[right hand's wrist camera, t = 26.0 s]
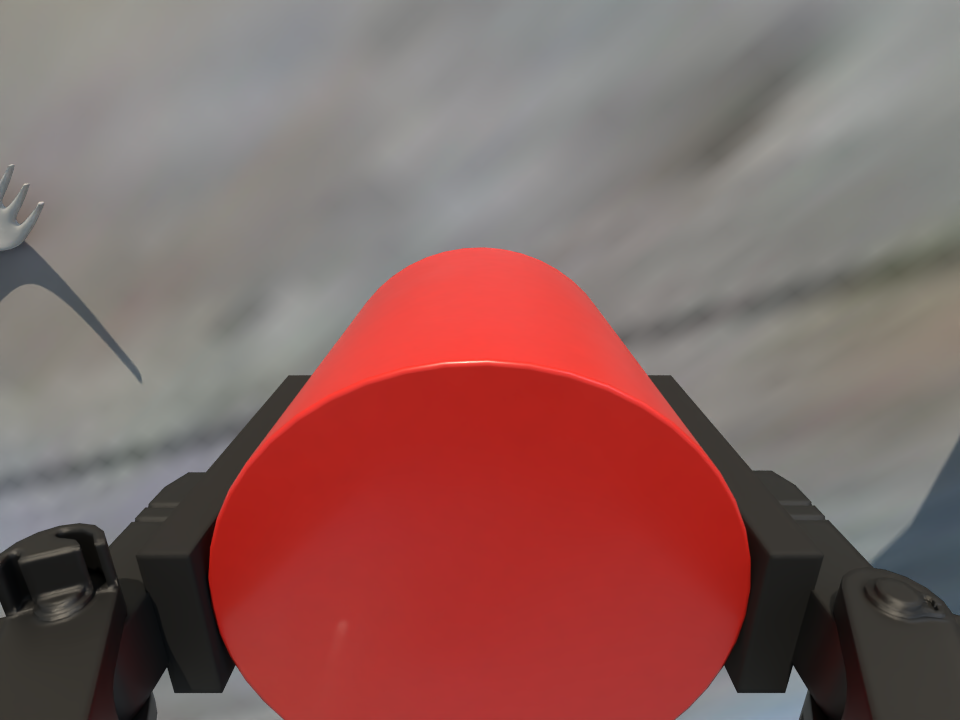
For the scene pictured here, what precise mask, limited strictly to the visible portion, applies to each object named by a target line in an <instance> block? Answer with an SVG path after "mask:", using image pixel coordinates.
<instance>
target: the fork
mask: <svg viewBox="0 0 960 720" xmlns="http://www.w3.org/2000/svg"><path fill="white" fill-rule="evenodd" d="M13 170H14V164H11V165H9V166H8V168H7V170H6V172H5V174H4V175H3V177H2V178H1V180H0V251H5V250H10V249H13V248H15V247H17V246H19V245H20V244H21V243H22V242H23V241H24V240H25V239H26V237H27V236H28V234H29V233H30V231H31V230H32V228H33V226H34V225H35V223H36V221H37V219H38V217H39V215H40V213H41V210H42V208H43V206H44V202H39V203H38V205H37V207H36V208H35V210H34V211H33V212H32V213H31V214H30V216H29V217H28V218H27V219H26V220H25V221H24V222H23V223H22V224H19V223H18V222H17V220H16V216H17V214H18V211H19V209H20V208H21V205H22V203H23V201H24V199H25V196H26V194H27V191H28V188H29V184H24V185H23V187H22V189H21V191H20V192H19V193H18V195H17V196H16V197H15V199H14V200H13V201H12V203H11V204H10V205H9V206H8V207H5V206H4V205H3V203H2V199H3V196H4V194H5V192H6V189H7V187H8V184H9V182H10V179H11V176H12V173H13Z"/></svg>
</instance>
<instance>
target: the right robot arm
mask: <svg viewBox="0 0 960 720" xmlns="http://www.w3.org/2000/svg"><path fill="white" fill-rule="evenodd" d="M311 376H312V375H299V376H288V377H287V378H286V379H285V380H284V382H283V383H282V384H281V385H280V386H279V387H278V389H277V390H276V391H275V392H274V393H273V394H272V396H271V397H270V398H269V399H268V400H267V401H266V403H265V404H264V405H263V406H262V407H261V409H260V410H259V411H258V412H257V413H256V414H255V416H254V417H253V418H252V419H251V420H250V421H249V423H248V424H247V425H246V426H245V427H244V428H243V430H242V431H241V432H240V433H239V434H238V435H237V437H236V438H235V439H234V440H233V441H232V442H231V444H230V445H229V446H228V447H227V448H226V449H225V451H224V452H223V453H222V454H221V455H220V457H219V458H218V459H217V460H216V461H215V462H214V464H213V465H212V466H211V467H210V468H209V469H208V471H207V472H188V473H187V474H185V475H184V476H182V477H180V478H179V479H177V480H175V481H174V482H172V483H171V484H169V485H167V486H166V487H164V488H163V489H162V490H161V492H160V493H159V494H158V495H157V496H156V497H155V498H154V499H153V500H152V501H151V502H150V503H149V506H148V508H145V509H144V510H143V511H142V512H141V513H140V514H139V515H138V516H137V517H136V518H135V522H131V523H130V525H129V526H128V527H127V528H126V529H125V530H124V531H123V532H122V533H121V534H120V535H119V536H118V537H117V538H116V539H115V540H114V542H113V543H112V544H111V545H110V546H109V547H108V544H107V540H106V537H105V534H104V531H103V530H101V529H100V528H98V527H97V526H95V525H90V524H81V523H78V524H70V525H62V526H57V527H54V528H51V529H48V530H44V531H41V532H38V533H36V534H33V535H31V536H29V537H27V538H25V539H23V540H21V541H19V542H16V543H15V544H14V545H12V546H11V547H9V548H8V549H6V550H5V551H3V552H2V553H1V554H0V602H1V605H2V607H3V610H4V612H5V614H6V617H3V618H0V720H156V719H157V708H156V702H155V698H154V695H153V692H152V691H153V689H154V688H155V686H156V684H157V683H158V681H159V679H160V678H161V676H162V674H163V673H164V671H165V669H166V668H168V672H169V675H170V679H171V682H172V686H173V689H174V693H222V692H223V690H224V688H225V686H226V684H227V682H228V680H229V677H230V675H231V673H232V671H233V669H234V667H235V663H234V661H233V660H232V658H231V657H230V655H229V652H228V650H227V648H226V646H225V644H224V642H223V639H222V637H221V635H220V633H219V630H218V626H217V623H216V619H215V616H214V612H213V609H212V605H211V596H210V587H209V560H210V546H211V541H212V537H213V533H214V528H215V524H216V520H217V517H218V514H219V512H220V510H221V507H222V505H223V502H224V500H225V498H226V495H227V493H228V491H229V489H230V487H231V486H232V484H233V483H234V481H235V479H236V478H237V476H238V475H239V473H240V471H241V470H242V468H243V467H244V465H245V464H246V462H247V461H248V459H249V458H250V457H251V455H252V454H253V453H254V451H255V450H256V449H257V447H258V446H259V445H260V444H261V442H262V441H263V440H264V438H265V437H266V436H267V434H268V433H269V432H270V430H271V429H272V428H273V426H274V425H275V424H276V422H277V421H278V420H279V418H280V417H281V416H282V414H283V413H284V412H285V410H286V409H287V408H288V406H289V405H290V404H291V402H292V401H293V400H294V398H295V397H296V396H297V394H298V393H299V392H300V390H301V389H302V388H303V386H304V385H305V384H306V382H307V381H308V380H309V378H310V377H311ZM648 377H649V378H650V379H651V381H652V382H653V383H654V385H655V386H656V387H657V389H658V390H659V391H660V393H661V394H662V395H663V397H664V398H665V399H666V401H667V402H668V403H669V405H670V406H671V407H672V409H673V410H674V411H675V413H676V414H677V415H678V417H679V418H680V419H681V421H682V422H683V423H684V425H685V426H686V427H687V429H688V430H689V431H690V433H691V434H692V435H693V437H694V438H695V439H696V441H697V442H698V443H699V445H700V446H701V447H702V449H703V450H704V451H705V453H706V454H707V455H708V457H709V458H710V459H711V461H712V462H713V463H714V465H715V466H716V467H717V469H718V470H719V471H720V473H721V474H722V476H723V478H724V480H725V482H726V483H727V485H728V487H729V489H730V491H731V492H732V494H733V496H734V498H735V500H736V502H737V505H738V508H739V511H740V514H741V517H742V519H743V522H744V525H745V528H746V533H747V539H748V546H749V552H750V558H751V576H750V594H749V599H748V605H747V611H746V616H745V619H744V622H743V624H742V627H741V630H740V633H739V636H738V639H737V642H736V644H735V645H734V647H733V649H732V651H731V653H730V655H729V657H728V659H727V661H726V662H725V664H724V666H725V668H726V670H727V672H728V674H729V676H730V678H731V680H732V682H733V685H734V687H735V689H736V691H737V693H785V691H786V688H787V684H788V681H789V677H790V674H791V670H792V667H793V666H794V667H795V669H796V670H797V672H798V674H799V675H800V677H801V679H802V680H803V682H804V684H805V685H806V687H807V688H808V692H807V695H806V698H805V701H804V705H803V708H802V711H801V715H800V718H799V720H960V616H959V615H955V614H952V612H951V611H950V610H949V608H948V607H947V606H946V604H945V603H944V601H942V600H941V599H940V598H939V597H937V596H936V595H935V594H934V593H932V592H931V591H930V590H929V589H927V588H926V587H924V586H922V585H920V584H918V583H916V582H915V581H913V580H911V579H909V578H907V577H905V576H902V575H899V574H896V573H893V572H890V571H887V570H883V569H876V568H873V567H872V566H871V565H870V564H869V563H868V562H867V560H866V559H865V558H864V557H863V556H862V555H861V554H860V553H859V552H858V551H857V550H856V549H855V548H854V547H853V546H852V545H851V544H850V542H849V541H848V540H847V539H846V538H845V537H844V536H843V535H842V534H841V533H840V532H839V531H838V530H837V529H836V528H835V527H834V526H833V525H832V523H831V522H830V521H829V520H825V516H824V515H823V514H822V513H821V512H820V511H819V510H818V509H817V508H816V507H815V506H812V504H811V501H810V500H809V499H808V498H807V497H806V496H805V495H804V494H803V493H802V492H801V491H800V490H799V489H798V488H797V486H796V485H794V484H792V483H791V482H789V481H788V480H786V479H784V478H783V477H781V476H779V475H778V474H776V473H774V472H773V471H752V470H751V469H750V468H749V466H748V465H747V464H746V463H745V462H744V460H743V459H742V458H741V457H740V456H739V455H738V453H737V452H736V451H735V450H734V449H733V448H732V446H731V445H730V444H729V443H728V442H727V441H726V439H725V438H724V437H723V436H722V435H721V434H720V432H719V431H718V430H717V429H716V428H715V427H714V425H713V424H712V423H711V422H710V421H709V419H708V418H707V417H706V416H705V415H704V414H703V412H702V411H701V410H700V409H699V408H698V407H697V405H696V404H695V403H694V402H693V401H692V400H691V398H690V397H689V396H688V395H687V394H686V393H685V391H684V390H683V389H682V388H681V387H680V386H679V384H678V383H677V382H676V381H675V380H674V379H673V377H672V376H671V375H648Z"/></svg>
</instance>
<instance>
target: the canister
mask: <svg viewBox="0 0 960 720" xmlns="http://www.w3.org/2000/svg"><path fill="white" fill-rule="evenodd" d="M750 576H751V558H750V552H749V546H748V539H747V533H746V528H745V525H744V522H743V519H742V517H741V514H740V511H739V508H738V505H737V502H736V500H735V498H734V496H733V494H732V492H731V491H730V489H729V487H728V485H727V483H726V482H725V480H724V478H723V476H722V474H721V473H720V471H719V470H718V469H717V467H716V466H715V465H714V463H713V462H712V461H711V459H710V458H709V457H708V455H707V454H706V453H705V451H704V450H703V449H702V447H701V446H700V445H699V443H698V442H697V441H696V439H695V438H694V437H693V435H692V434H691V433H690V431H689V430H688V429H687V427H686V426H685V425H684V423H683V422H682V421H681V419H680V418H679V417H678V415H677V414H676V413H675V411H674V410H673V409H672V407H671V406H670V405H669V403H668V402H667V401H666V399H665V398H664V397H663V395H662V394H661V393H660V391H659V390H658V389H657V387H656V386H655V385H654V383H653V382H652V381H651V379H650V378H649V377H648V375H647V374H646V373H645V371H644V370H643V369H642V367H641V366H640V365H639V363H638V362H637V361H636V359H635V358H634V357H633V355H632V354H631V353H630V351H629V350H628V349H627V347H626V346H625V345H624V343H623V342H622V341H621V339H620V338H619V337H618V335H617V334H616V333H615V331H614V330H613V329H612V327H611V326H610V325H609V323H608V322H607V321H606V319H605V318H604V317H603V316H602V314H601V313H600V312H599V310H598V309H597V308H596V306H595V305H594V304H593V302H592V301H591V300H590V299H589V297H588V296H587V295H586V293H585V292H584V291H583V290H581V289H580V288H579V287H578V286H577V285H576V284H575V283H574V282H573V281H572V280H571V279H569V278H568V277H567V276H565V275H564V274H563V273H561V272H560V271H558V270H557V269H555V268H553V267H551V266H550V265H548V264H546V263H544V262H542V261H540V260H538V259H535V258H532V257H530V256H527V255H524V254H521V253H517V252H512V251H508V250H503V249H493V248H463V249H458V250H452V251H446V252H442V253H439V254H436V255H433V256H430V257H427V258H424V259H422V260H420V261H418V262H416V263H414V264H412V265H409V266H408V267H406V268H405V269H403V270H402V271H400V272H399V273H397V274H395V275H394V276H393V277H391V278H390V279H389V280H388V281H387V282H386V283H384V284H383V285H382V286H381V287H380V288H379V289H378V290H377V291H376V292H375V293H374V295H373V296H372V297H371V298H370V299H369V300H368V301H367V303H366V304H365V305H364V307H363V308H362V309H361V311H360V312H359V313H358V315H357V316H356V317H355V319H354V320H353V321H352V323H351V324H350V325H349V327H348V328H347V329H346V331H345V332H344V333H343V335H342V336H341V337H340V339H339V340H338V341H337V343H336V344H335V345H334V347H333V348H332V349H331V351H330V352H329V353H328V355H327V356H326V357H325V358H324V360H323V361H322V362H321V364H320V365H319V366H318V368H317V369H316V370H315V372H314V373H313V374H312V376H311V377H310V378H309V380H308V381H307V382H306V384H305V385H304V386H303V388H302V389H301V390H300V392H299V393H298V394H297V396H296V397H295V398H294V400H293V401H292V402H291V404H290V405H289V406H288V408H287V409H286V410H285V412H284V413H283V414H282V416H281V417H280V418H279V420H278V421H277V422H276V424H275V425H274V426H273V428H272V429H271V430H270V432H269V433H268V434H267V436H266V437H265V438H264V440H263V441H262V442H261V444H260V445H259V446H258V447H257V449H256V450H255V451H254V453H253V454H252V455H251V457H250V458H249V459H248V461H247V462H246V464H245V465H244V467H243V468H242V470H241V471H240V473H239V475H238V476H237V478H236V479H235V481H234V483H233V484H232V486H231V487H230V489H229V491H228V493H227V495H226V498H225V500H224V502H223V505H222V507H221V510H220V512H219V514H218V517H217V520H216V524H215V528H214V533H213V537H212V541H211V546H210V560H209V587H210V596H211V605H212V609H213V612H214V616H215V619H216V623H217V626H218V630H219V633H220V635H221V637H222V639H223V642H224V644H225V646H226V648H227V650H228V652H229V655H230V657H231V658H232V660H233V661H234V663H235V665H236V666H237V668H238V669H239V671H240V672H241V674H242V675H243V677H244V678H245V680H246V681H247V682H248V683H249V685H250V686H251V687H252V688H253V689H254V690H255V692H256V693H257V694H258V695H259V696H260V697H261V699H262V700H263V701H264V702H265V703H266V704H267V705H268V706H270V707H271V708H272V709H273V710H274V711H275V712H276V713H277V714H278V715H279V716H281V717H282V718H283V719H284V720H675V719H676V718H678V717H679V716H680V715H681V714H682V713H684V712H685V711H686V710H687V709H688V708H689V707H690V706H691V705H692V704H693V703H694V702H695V701H696V700H697V699H698V698H699V697H700V696H701V695H702V693H703V692H704V691H705V690H706V689H707V688H708V687H709V685H710V684H711V683H712V681H713V680H714V679H715V677H716V676H717V674H718V673H719V672H720V670H721V669H722V667H723V666H724V664H725V662H726V661H727V659H728V657H729V655H730V653H731V651H732V649H733V647H734V645H735V644H736V642H737V639H738V636H739V633H740V630H741V627H742V624H743V622H744V619H745V616H746V611H747V605H748V599H749V594H750Z"/></svg>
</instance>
